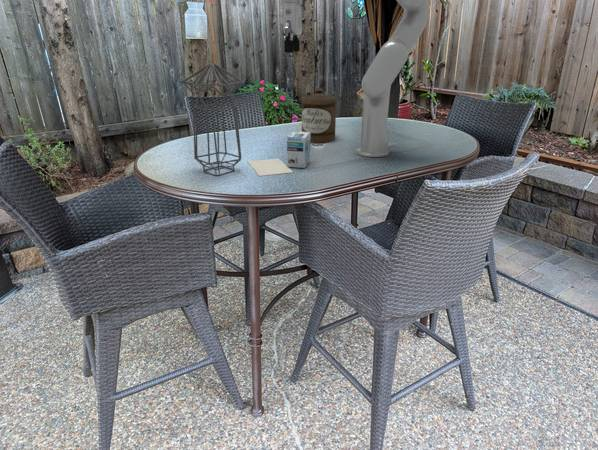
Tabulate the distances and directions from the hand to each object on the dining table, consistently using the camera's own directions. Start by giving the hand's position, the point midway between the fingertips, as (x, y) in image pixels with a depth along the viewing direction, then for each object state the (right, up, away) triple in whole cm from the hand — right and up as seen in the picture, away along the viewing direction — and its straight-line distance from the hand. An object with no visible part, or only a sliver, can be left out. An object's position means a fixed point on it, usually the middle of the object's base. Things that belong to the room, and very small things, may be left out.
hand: (292, 51), depth 160 cm
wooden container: (+11, -27, +31) cm, 42 cm away
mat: (-8, -44, -8) cm, 46 cm away
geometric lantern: (-25, -46, -11) cm, 53 cm away
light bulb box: (+2, -43, -5) cm, 43 cm away
